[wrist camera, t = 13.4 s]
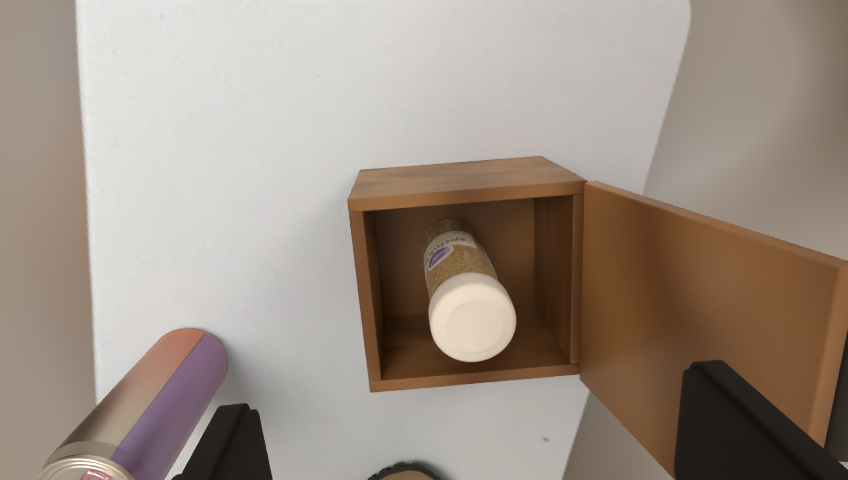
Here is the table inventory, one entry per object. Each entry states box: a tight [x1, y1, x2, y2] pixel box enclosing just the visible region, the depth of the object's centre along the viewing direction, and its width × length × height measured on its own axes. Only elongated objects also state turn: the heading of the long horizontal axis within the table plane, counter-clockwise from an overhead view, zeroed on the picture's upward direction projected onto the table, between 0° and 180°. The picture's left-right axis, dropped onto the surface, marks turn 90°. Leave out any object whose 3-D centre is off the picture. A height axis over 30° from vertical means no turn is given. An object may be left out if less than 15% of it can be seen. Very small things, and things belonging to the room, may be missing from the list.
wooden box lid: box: [580, 181, 848, 480], centre depth 24 cm, size 14×13×5 cm
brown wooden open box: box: [347, 156, 587, 393], centre depth 35 cm, size 14×13×10 cm
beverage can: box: [35, 329, 228, 480], centre depth 34 cm, size 6×6×15 cm
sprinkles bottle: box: [421, 218, 516, 362], centre depth 33 cm, size 5×5×14 cm
